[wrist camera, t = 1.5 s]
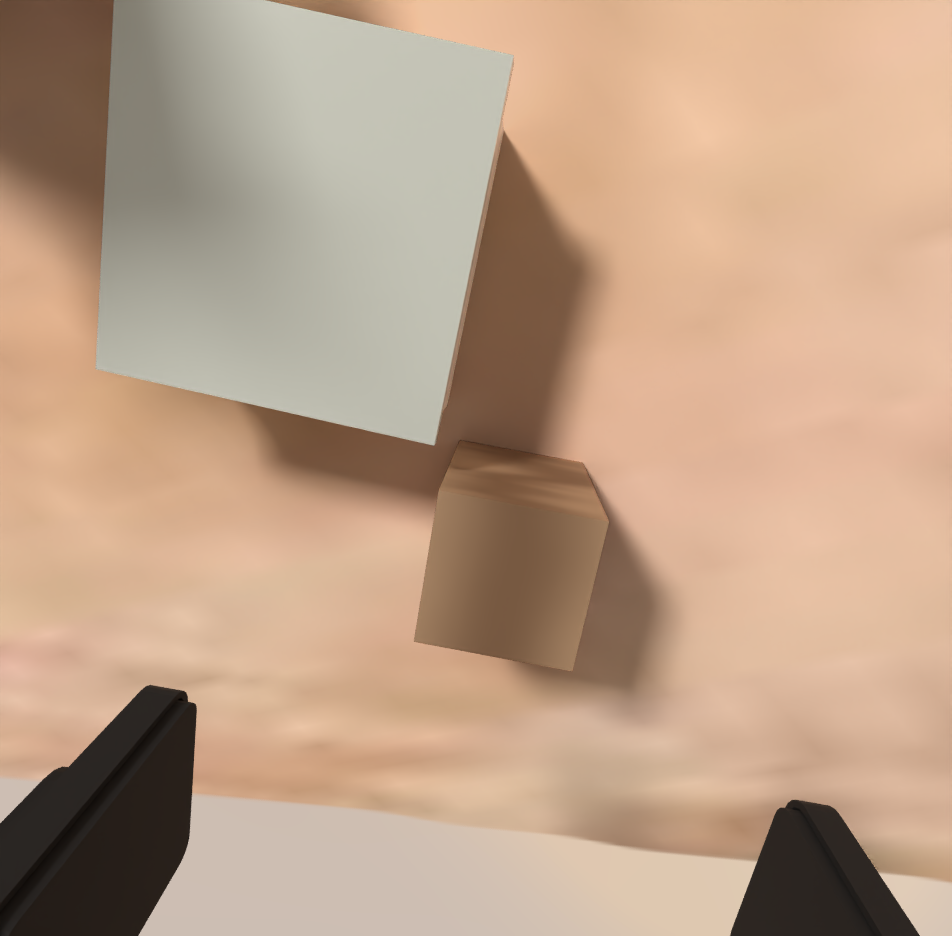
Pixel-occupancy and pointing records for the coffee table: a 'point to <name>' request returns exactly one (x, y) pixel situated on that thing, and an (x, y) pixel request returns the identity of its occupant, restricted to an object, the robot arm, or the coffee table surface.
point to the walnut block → (512, 556)
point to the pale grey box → (294, 208)
